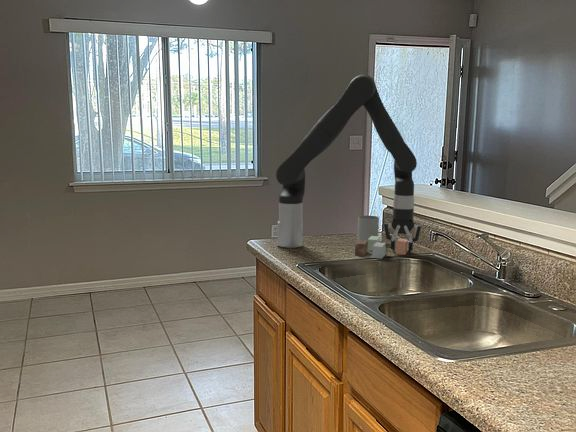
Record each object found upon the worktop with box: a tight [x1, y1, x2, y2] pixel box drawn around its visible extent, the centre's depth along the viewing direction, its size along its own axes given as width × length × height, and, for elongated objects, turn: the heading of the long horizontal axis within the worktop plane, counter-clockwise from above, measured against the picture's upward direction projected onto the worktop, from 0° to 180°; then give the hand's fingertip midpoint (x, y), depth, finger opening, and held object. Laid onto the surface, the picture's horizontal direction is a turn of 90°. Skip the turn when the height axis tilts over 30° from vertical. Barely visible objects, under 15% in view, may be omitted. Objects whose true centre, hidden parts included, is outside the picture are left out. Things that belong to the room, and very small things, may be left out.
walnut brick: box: [354, 239, 368, 257], centre depth 208 cm, size 4×7×4 cm, turn 163°
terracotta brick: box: [395, 238, 409, 256], centre depth 210 cm, size 4×7×4 cm, turn 161°
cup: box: [357, 215, 380, 241], centre depth 230 cm, size 8×8×10 cm
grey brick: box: [371, 241, 387, 260], centre depth 204 cm, size 4×7×4 cm, turn 160°
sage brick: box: [367, 235, 381, 252], centre depth 215 cm, size 4×7×4 cm, turn 161°
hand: (401, 251), depth 210 cm, fingers open, 5 cm apart
